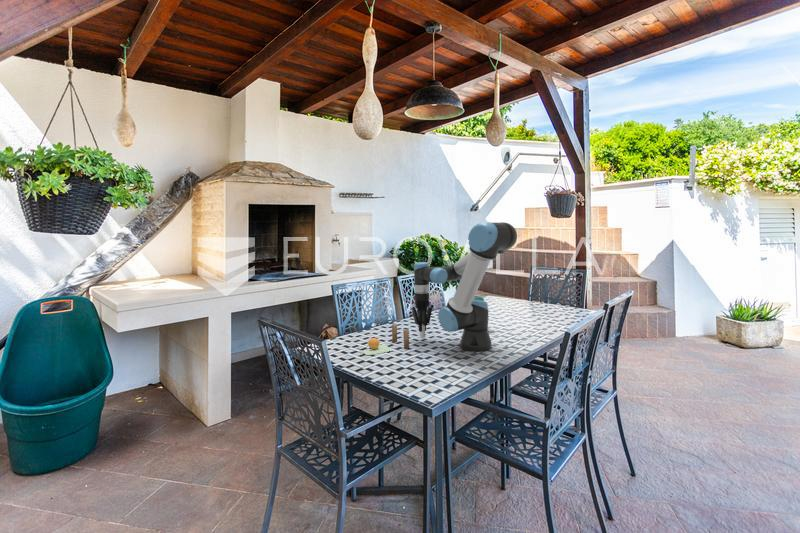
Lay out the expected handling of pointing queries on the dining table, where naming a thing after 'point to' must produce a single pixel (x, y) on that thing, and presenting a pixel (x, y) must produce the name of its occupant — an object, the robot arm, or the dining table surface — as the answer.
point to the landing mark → (378, 350)
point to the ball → (373, 343)
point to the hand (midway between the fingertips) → (422, 337)
